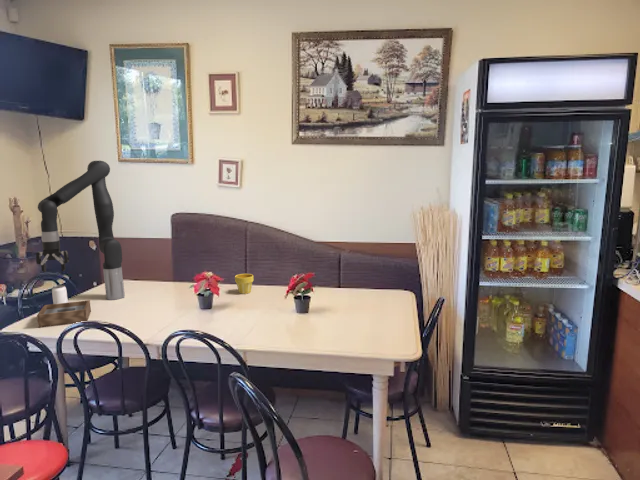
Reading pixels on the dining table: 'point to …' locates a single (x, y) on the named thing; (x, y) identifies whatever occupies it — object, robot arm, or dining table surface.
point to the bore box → (63, 313)
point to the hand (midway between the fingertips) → (54, 271)
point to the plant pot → (244, 283)
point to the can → (59, 294)
